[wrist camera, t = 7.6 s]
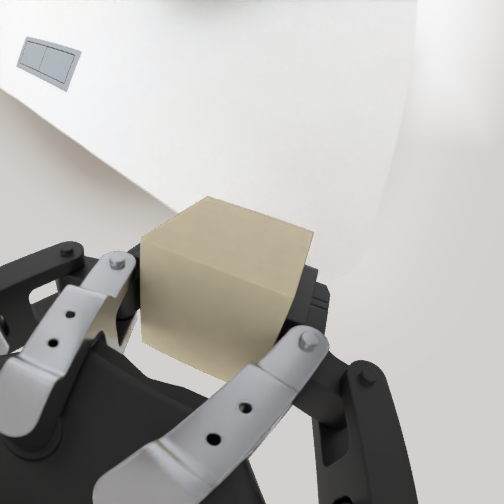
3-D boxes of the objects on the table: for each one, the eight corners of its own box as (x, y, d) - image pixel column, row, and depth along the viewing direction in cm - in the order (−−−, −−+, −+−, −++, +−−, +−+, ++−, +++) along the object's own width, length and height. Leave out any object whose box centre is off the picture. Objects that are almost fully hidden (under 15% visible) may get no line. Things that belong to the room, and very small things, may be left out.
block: (314, 231, 11) (294, 297, 7) (281, 317, 13) (252, 393, 9) (207, 195, 11) (140, 237, 8) (193, 283, 14) (141, 342, 10)
